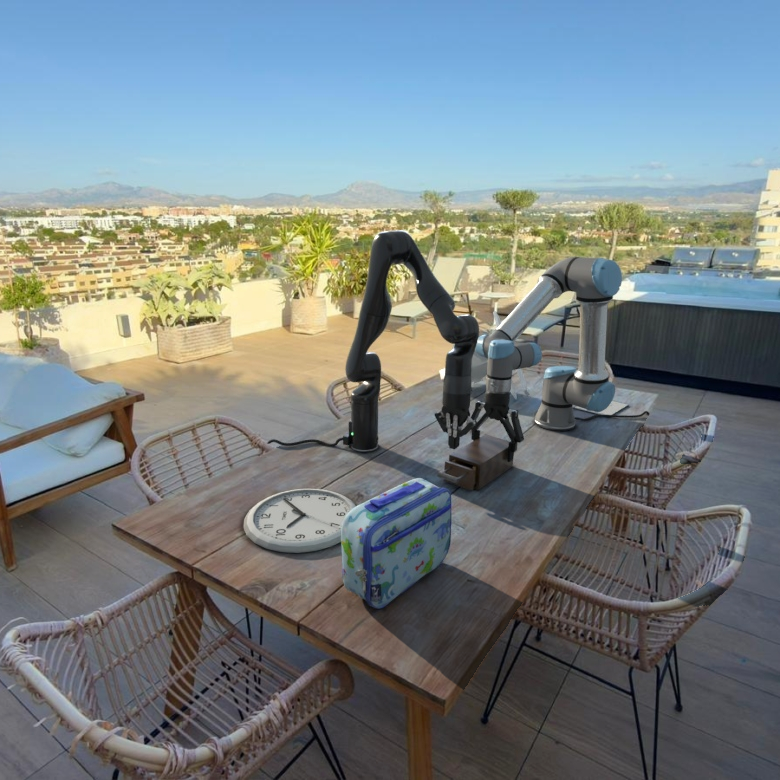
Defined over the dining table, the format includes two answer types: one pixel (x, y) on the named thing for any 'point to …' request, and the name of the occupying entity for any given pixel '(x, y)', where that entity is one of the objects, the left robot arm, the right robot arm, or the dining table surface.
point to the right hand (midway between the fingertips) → (492, 455)
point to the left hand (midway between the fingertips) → (453, 447)
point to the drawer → (459, 474)
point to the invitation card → (608, 408)
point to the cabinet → (485, 458)
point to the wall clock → (298, 520)
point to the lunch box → (395, 540)
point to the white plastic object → (481, 368)
